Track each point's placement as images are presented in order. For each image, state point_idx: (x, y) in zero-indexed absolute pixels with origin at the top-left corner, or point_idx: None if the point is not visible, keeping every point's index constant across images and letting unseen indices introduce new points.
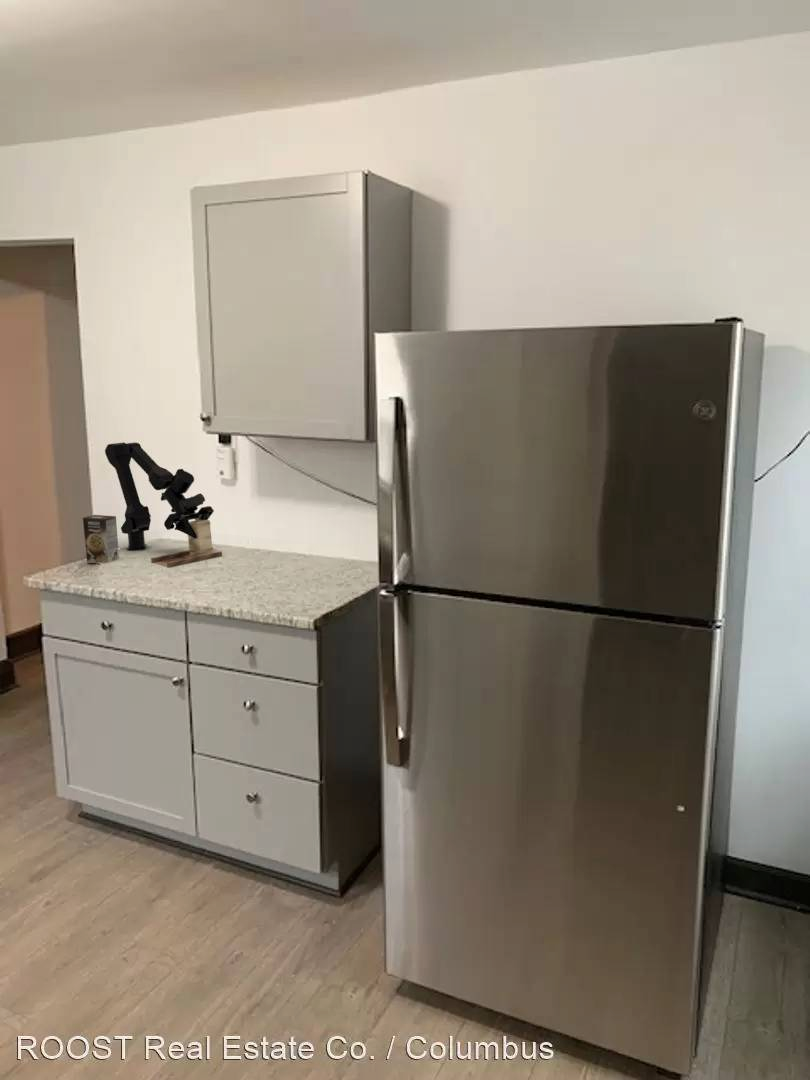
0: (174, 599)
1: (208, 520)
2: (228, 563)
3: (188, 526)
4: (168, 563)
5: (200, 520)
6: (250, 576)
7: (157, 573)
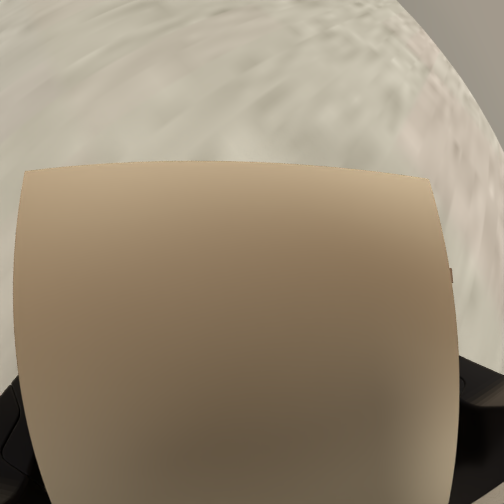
0: (461, 80)
1: (34, 199)
2: (176, 137)
3: (460, 361)
4: (450, 270)
5: (131, 487)
6: (268, 9)
7: (461, 277)
